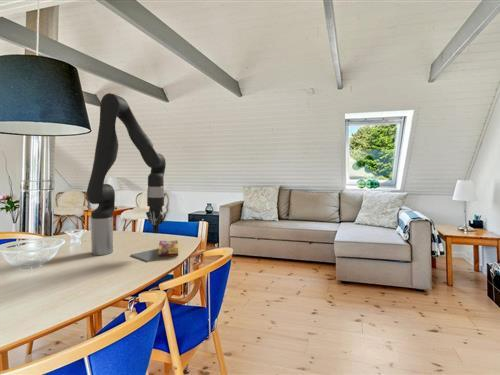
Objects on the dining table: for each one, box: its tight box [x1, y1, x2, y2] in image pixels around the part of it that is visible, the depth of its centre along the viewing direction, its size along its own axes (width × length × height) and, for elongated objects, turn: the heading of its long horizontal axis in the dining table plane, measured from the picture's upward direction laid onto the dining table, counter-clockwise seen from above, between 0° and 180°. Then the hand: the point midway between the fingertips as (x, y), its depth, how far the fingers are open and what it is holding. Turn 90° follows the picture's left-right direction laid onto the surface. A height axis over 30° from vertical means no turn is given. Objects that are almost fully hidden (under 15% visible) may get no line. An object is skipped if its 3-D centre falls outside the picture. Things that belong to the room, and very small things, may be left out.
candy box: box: [158, 239, 179, 258], centre depth 138 cm, size 9×4×15 cm
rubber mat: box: [130, 247, 170, 263], centre depth 136 cm, size 14×16×1 cm
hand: (155, 232), depth 134 cm, fingers closed
